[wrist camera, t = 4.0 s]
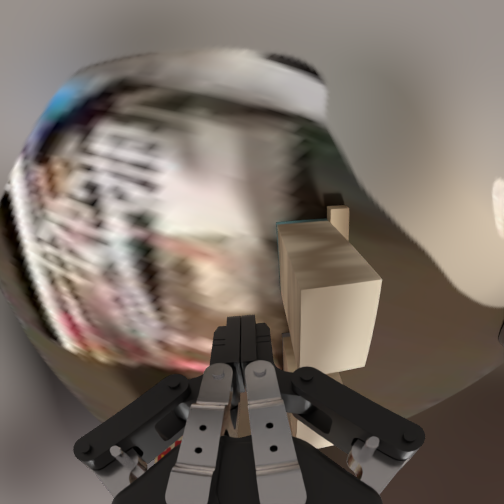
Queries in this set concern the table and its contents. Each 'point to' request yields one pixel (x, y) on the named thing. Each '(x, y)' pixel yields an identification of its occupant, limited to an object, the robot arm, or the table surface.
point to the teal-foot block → (326, 295)
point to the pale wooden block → (297, 426)
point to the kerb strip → (339, 218)
